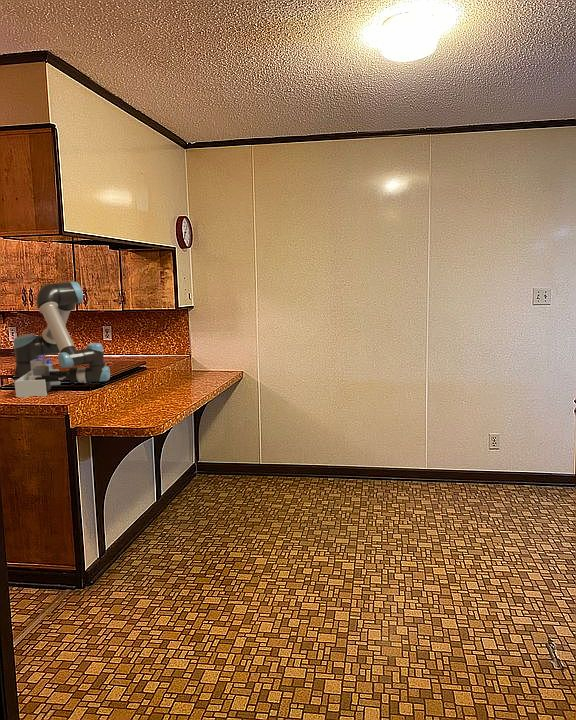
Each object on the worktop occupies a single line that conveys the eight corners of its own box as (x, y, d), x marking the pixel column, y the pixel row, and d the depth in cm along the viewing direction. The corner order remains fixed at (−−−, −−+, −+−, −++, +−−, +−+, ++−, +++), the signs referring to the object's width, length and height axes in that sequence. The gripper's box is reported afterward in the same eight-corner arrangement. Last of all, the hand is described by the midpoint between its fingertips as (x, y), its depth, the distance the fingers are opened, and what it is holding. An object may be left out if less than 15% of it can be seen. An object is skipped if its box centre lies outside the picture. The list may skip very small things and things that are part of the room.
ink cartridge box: (54, 380, 338) (51, 354, 335) (48, 383, 332) (45, 356, 329) (38, 380, 340) (35, 354, 337) (32, 383, 334) (28, 356, 331)
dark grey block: (39, 389, 319) (36, 366, 317) (51, 388, 320) (48, 365, 317) (35, 392, 314) (32, 368, 311) (47, 391, 314) (45, 368, 312)
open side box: (32, 385, 328) (30, 370, 326) (60, 384, 329) (58, 369, 327) (16, 397, 304) (14, 381, 303) (46, 396, 305) (44, 380, 304)
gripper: (74, 386, 308) (25, 389, 306) (83, 378, 327) (38, 380, 325) (72, 371, 306) (24, 374, 305) (82, 363, 325) (36, 366, 323)
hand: (31, 377), depth 315 cm, fingers closed on dark grey block, 6 cm apart
